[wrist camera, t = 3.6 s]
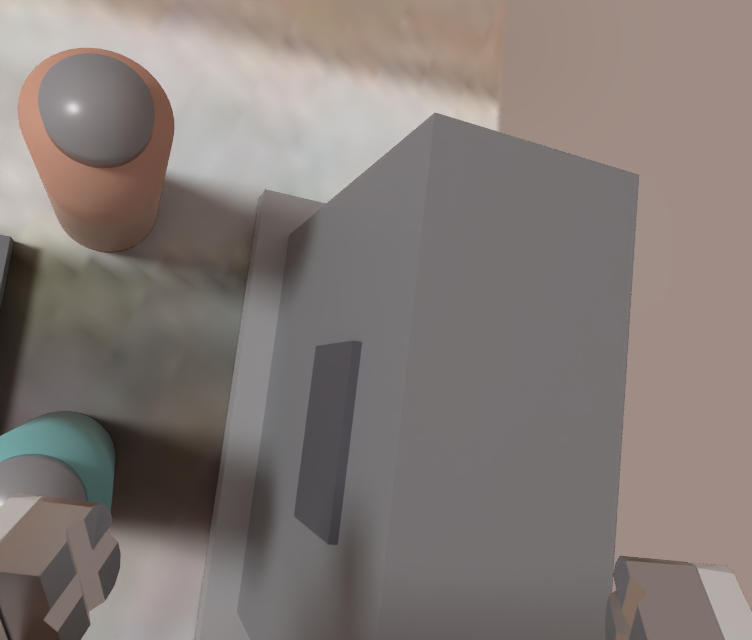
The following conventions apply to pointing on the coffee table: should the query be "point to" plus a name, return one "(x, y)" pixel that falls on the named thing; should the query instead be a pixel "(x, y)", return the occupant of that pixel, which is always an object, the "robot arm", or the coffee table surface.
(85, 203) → the terracotta cartridge
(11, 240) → the pad
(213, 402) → the coffee table surface
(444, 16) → the coffee table surface
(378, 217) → the block
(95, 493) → the cylinder
